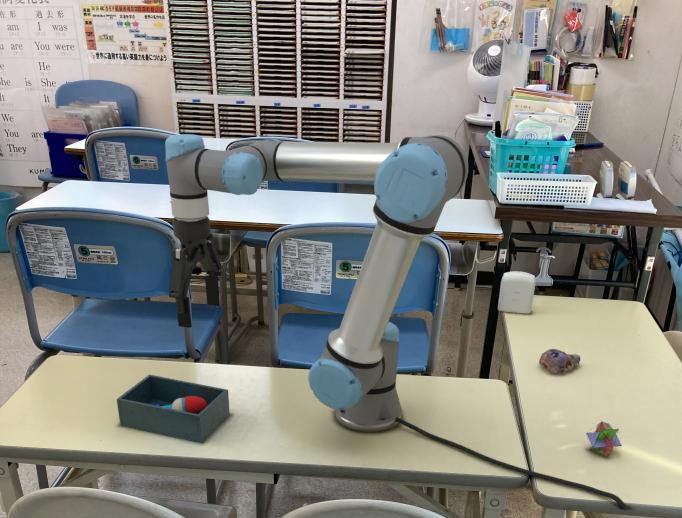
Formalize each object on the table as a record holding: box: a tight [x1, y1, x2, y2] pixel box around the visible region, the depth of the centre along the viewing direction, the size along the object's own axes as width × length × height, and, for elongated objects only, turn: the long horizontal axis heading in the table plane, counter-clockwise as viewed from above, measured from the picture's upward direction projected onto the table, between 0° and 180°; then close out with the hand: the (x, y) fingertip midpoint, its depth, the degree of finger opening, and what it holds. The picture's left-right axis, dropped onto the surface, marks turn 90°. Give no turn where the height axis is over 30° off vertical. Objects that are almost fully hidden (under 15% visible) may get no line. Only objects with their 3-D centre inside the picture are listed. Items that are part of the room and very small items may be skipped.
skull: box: [538, 348, 581, 375], centre depth 201 cm, size 12×8×6 cm, turn 107°
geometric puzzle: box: [585, 420, 623, 459], centre depth 165 cm, size 7×7×8 cm
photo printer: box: [497, 270, 536, 315], centre depth 233 cm, size 10×4×12 cm, turn 78°
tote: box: [116, 374, 231, 444], centre depth 172 cm, size 20×13×7 cm, turn 71°
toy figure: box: [155, 396, 207, 414], centre depth 173 cm, size 8×5×15 cm
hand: (199, 315), depth 168 cm, fingers open, 13 cm apart
